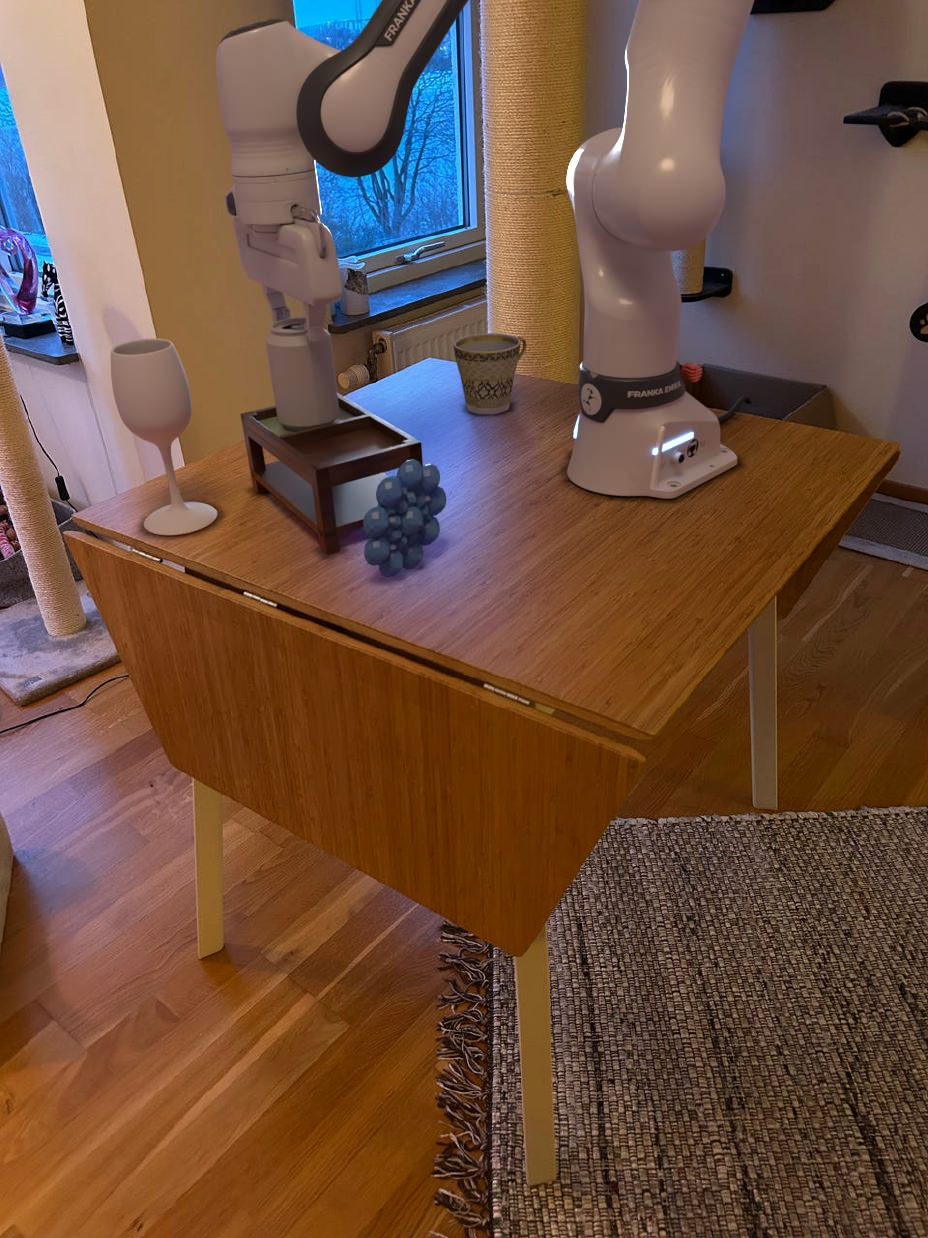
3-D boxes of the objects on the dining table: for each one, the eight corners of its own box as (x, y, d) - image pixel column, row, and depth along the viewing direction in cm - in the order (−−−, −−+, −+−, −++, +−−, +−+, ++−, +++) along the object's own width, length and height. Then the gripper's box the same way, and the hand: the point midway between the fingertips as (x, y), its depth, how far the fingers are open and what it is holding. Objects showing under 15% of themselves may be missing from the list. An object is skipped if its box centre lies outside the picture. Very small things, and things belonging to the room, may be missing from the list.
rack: (344, 465, 124) (335, 390, 118) (427, 523, 108) (421, 439, 102) (253, 489, 118) (239, 412, 112) (326, 555, 102) (315, 468, 96)
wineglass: (198, 538, 107) (159, 358, 95) (130, 534, 108) (84, 357, 97) (229, 506, 114) (196, 335, 103) (165, 502, 115) (125, 334, 104)
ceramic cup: (486, 423, 135) (484, 355, 129) (442, 408, 141) (439, 342, 136) (548, 402, 142) (549, 336, 136) (504, 388, 148) (503, 325, 143)
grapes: (418, 537, 105) (411, 437, 98) (462, 554, 101) (457, 451, 94) (342, 576, 98) (329, 472, 91) (386, 597, 94) (375, 489, 87)
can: (327, 407, 116) (315, 310, 110) (349, 425, 110) (338, 324, 104) (270, 419, 113) (254, 320, 107) (290, 438, 107) (275, 334, 101)
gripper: (348, 206, 92) (363, 344, 100) (270, 189, 107) (288, 310, 114) (290, 215, 89) (310, 356, 97) (218, 196, 104) (241, 319, 112)
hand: (298, 331), depth 106 cm, fingers open, 8 cm apart
